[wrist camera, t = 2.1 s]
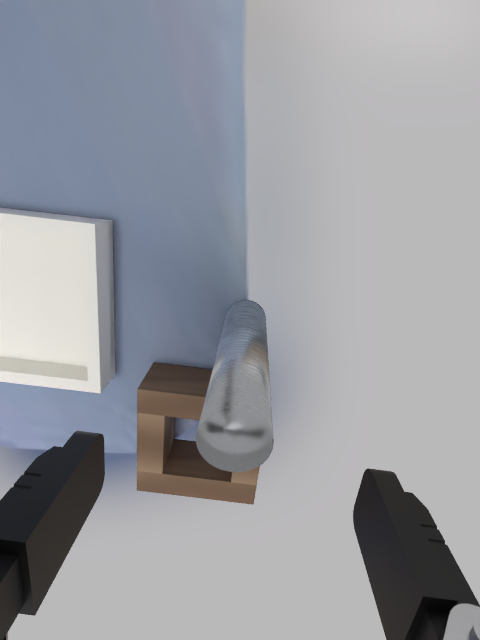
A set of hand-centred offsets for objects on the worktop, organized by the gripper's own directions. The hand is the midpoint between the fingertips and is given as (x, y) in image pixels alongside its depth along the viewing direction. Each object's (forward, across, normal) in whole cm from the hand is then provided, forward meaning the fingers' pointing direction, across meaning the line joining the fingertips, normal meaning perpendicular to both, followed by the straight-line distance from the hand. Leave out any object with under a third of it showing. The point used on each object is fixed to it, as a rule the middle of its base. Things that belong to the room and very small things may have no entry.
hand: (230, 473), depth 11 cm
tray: (+13, +14, 0) cm, 19 cm away
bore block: (+13, +2, +8) cm, 15 cm away
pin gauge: (+13, 0, 0) cm, 13 cm away
